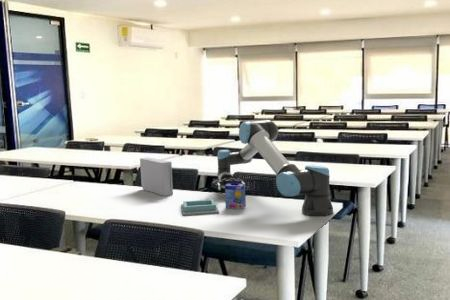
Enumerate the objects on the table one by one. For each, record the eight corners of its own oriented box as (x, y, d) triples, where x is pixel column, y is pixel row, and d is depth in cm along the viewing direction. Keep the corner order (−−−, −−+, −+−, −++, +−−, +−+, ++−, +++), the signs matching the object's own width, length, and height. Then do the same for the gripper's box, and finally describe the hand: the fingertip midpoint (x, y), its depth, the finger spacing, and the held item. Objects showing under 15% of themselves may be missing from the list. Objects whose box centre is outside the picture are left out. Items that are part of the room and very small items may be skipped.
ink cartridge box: (225, 208, 258) (224, 181, 256) (227, 205, 263) (226, 179, 261) (243, 208, 256) (242, 181, 254) (245, 206, 261) (245, 179, 259)
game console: (164, 196, 290) (163, 163, 287) (141, 189, 311) (139, 158, 308) (173, 194, 294) (171, 161, 291) (149, 188, 315) (147, 157, 312)
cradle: (218, 213, 248) (218, 206, 248) (183, 215, 246) (182, 209, 246) (214, 203, 268) (214, 197, 268) (181, 206, 266) (180, 199, 265)
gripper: (247, 184, 291) (254, 192, 270) (205, 186, 288) (209, 195, 267) (247, 171, 290) (254, 178, 269) (205, 174, 287) (208, 181, 266)
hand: (232, 186), depth 268 cm, fingers open, 13 cm apart
